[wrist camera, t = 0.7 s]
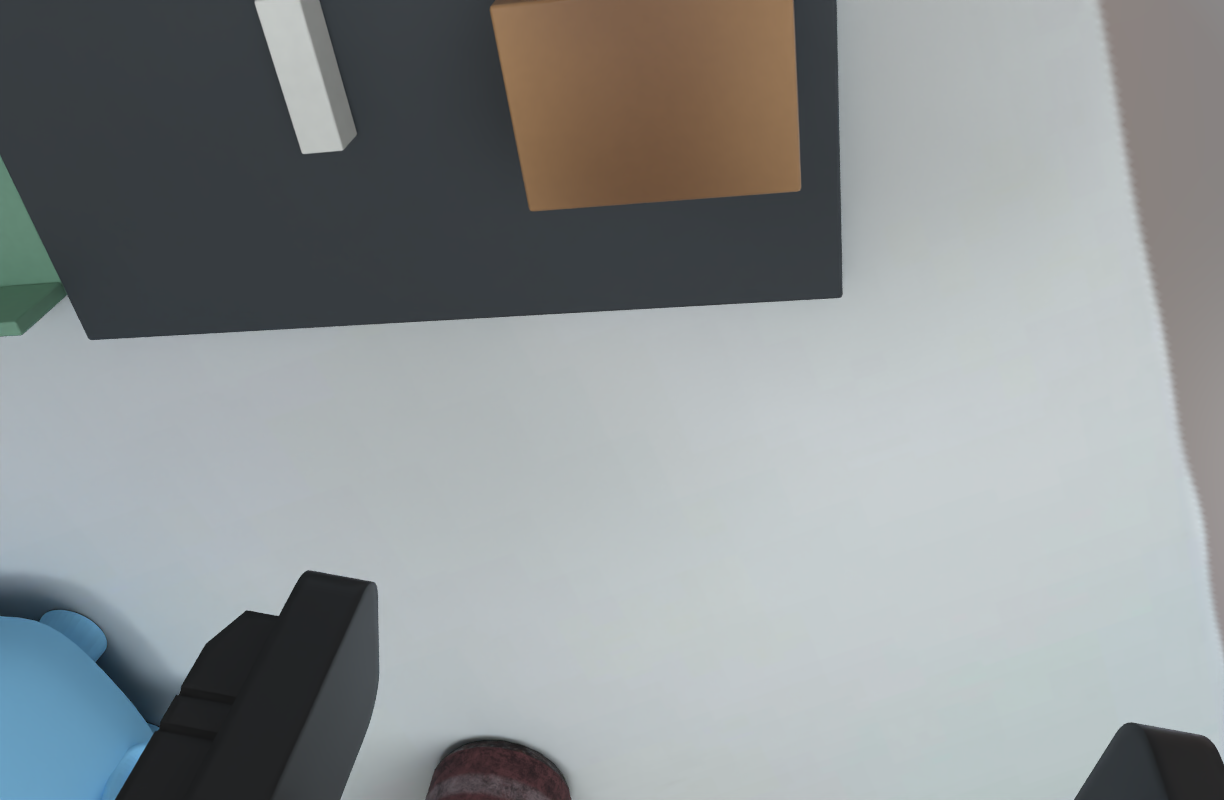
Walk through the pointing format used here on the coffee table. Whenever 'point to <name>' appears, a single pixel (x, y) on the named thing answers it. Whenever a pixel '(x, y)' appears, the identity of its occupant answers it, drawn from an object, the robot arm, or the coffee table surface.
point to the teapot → (63, 713)
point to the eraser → (650, 99)
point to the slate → (358, 179)
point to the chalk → (307, 73)
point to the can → (497, 774)
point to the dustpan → (22, 265)
